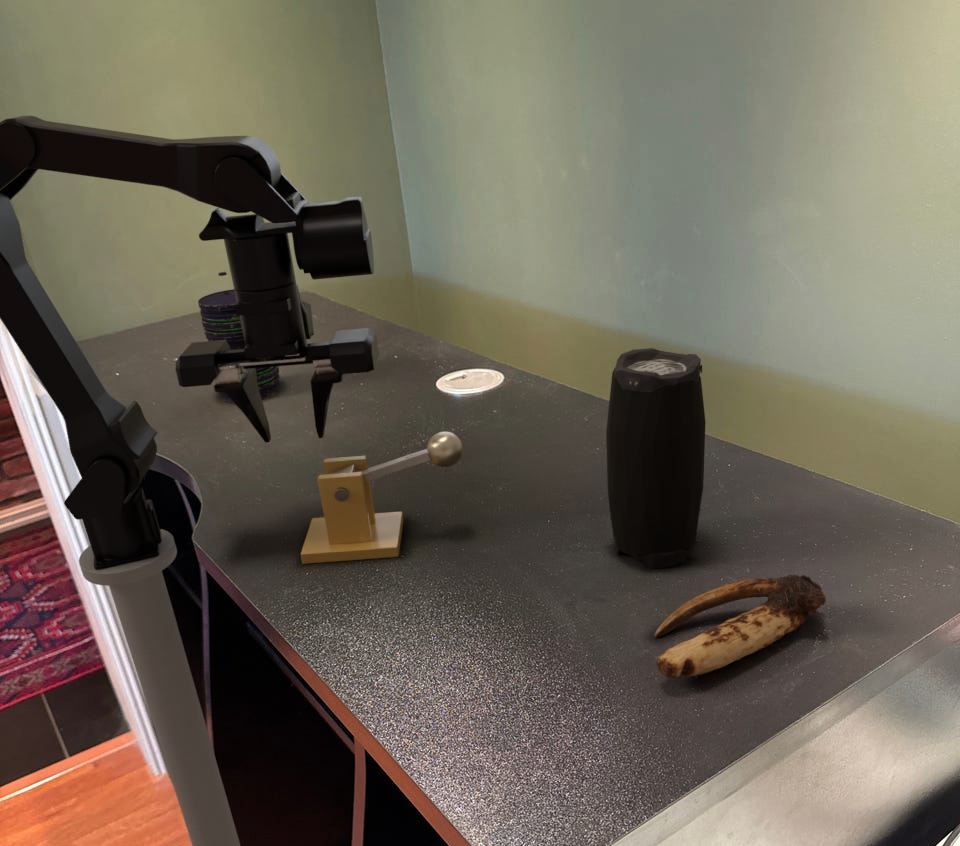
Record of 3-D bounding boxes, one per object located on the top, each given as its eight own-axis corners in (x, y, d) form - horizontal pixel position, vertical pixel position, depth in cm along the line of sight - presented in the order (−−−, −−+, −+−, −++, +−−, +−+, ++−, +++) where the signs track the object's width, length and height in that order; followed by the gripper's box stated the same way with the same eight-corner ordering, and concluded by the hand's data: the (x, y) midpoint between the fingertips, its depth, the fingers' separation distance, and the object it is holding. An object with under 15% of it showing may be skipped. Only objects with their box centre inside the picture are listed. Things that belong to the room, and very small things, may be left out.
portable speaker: (715, 541, 91) (725, 352, 82) (666, 582, 85) (671, 384, 76) (641, 519, 97) (643, 339, 87) (591, 557, 91) (587, 367, 81)
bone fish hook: (760, 585, 85) (609, 654, 76) (762, 540, 83) (608, 606, 74) (845, 627, 77) (688, 708, 69) (850, 578, 75) (689, 656, 67)
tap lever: (467, 452, 95) (455, 421, 93) (467, 466, 91) (455, 435, 90) (341, 493, 97) (327, 464, 95) (337, 509, 94) (322, 479, 92)
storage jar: (289, 393, 141) (267, 276, 133) (226, 407, 138) (199, 288, 129) (273, 376, 149) (251, 264, 141) (213, 389, 146) (186, 276, 137)
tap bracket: (403, 520, 101) (393, 447, 97) (398, 557, 94) (387, 479, 90) (313, 527, 101) (300, 454, 97) (302, 564, 94) (286, 487, 90)
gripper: (372, 256, 92) (392, 403, 99) (189, 272, 92) (222, 416, 100) (361, 283, 82) (383, 443, 89) (156, 300, 83) (195, 458, 90)
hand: (294, 438), depth 92 cm, fingers open, 5 cm apart
